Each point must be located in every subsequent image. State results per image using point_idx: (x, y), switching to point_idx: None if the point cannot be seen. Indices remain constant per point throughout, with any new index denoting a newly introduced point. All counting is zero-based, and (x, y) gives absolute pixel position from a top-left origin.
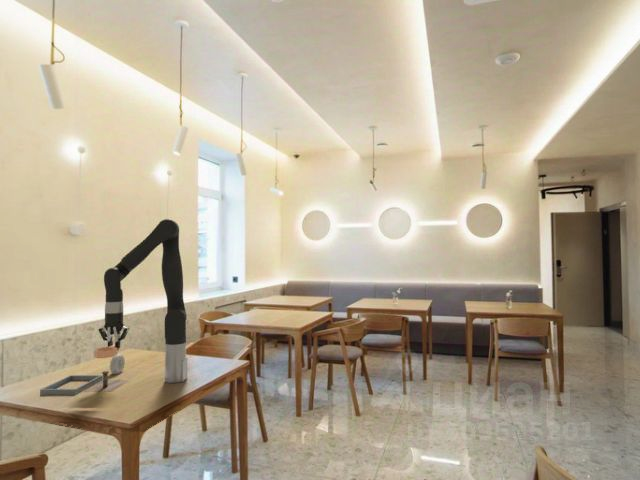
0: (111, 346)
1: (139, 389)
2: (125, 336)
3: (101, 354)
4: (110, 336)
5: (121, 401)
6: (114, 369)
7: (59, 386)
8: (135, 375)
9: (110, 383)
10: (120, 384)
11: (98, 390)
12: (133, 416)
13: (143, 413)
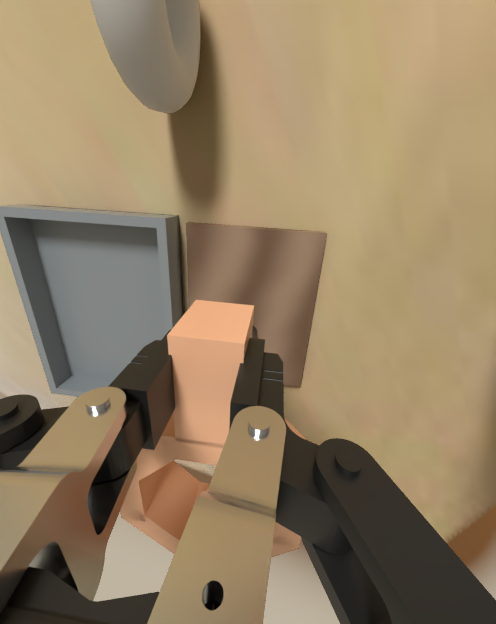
0: (207, 434)
1: (400, 344)
2: (416, 514)
3: None
4: (97, 548)
5: (361, 446)
6: (181, 107)
7: (49, 296)
8: (318, 77)
9: (248, 286)
10: (303, 306)
11: None
12: None
13: (448, 524)
